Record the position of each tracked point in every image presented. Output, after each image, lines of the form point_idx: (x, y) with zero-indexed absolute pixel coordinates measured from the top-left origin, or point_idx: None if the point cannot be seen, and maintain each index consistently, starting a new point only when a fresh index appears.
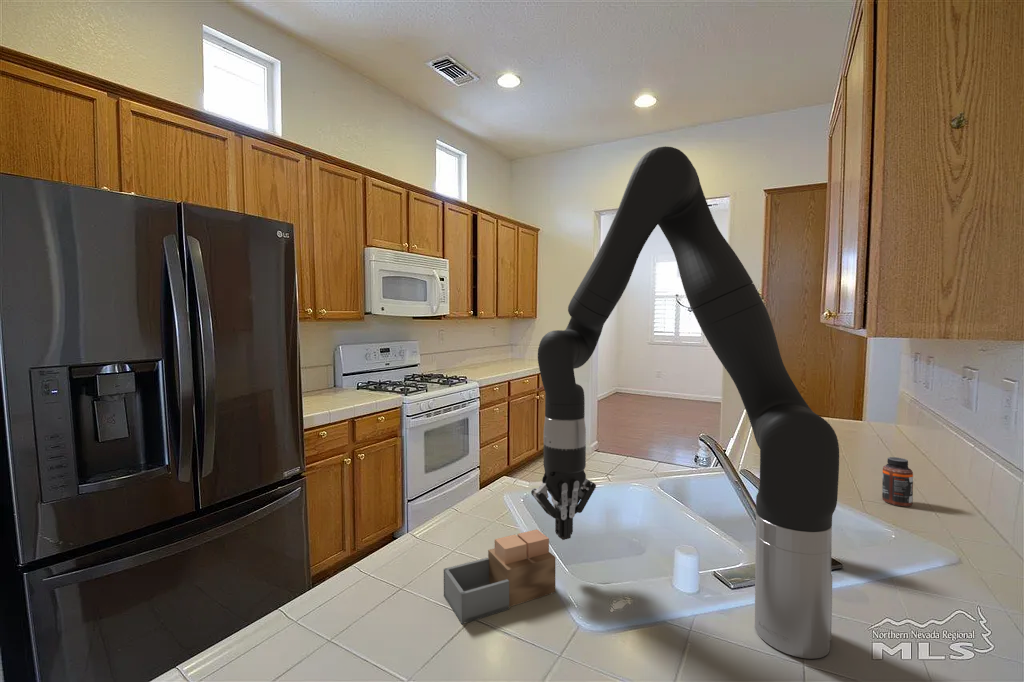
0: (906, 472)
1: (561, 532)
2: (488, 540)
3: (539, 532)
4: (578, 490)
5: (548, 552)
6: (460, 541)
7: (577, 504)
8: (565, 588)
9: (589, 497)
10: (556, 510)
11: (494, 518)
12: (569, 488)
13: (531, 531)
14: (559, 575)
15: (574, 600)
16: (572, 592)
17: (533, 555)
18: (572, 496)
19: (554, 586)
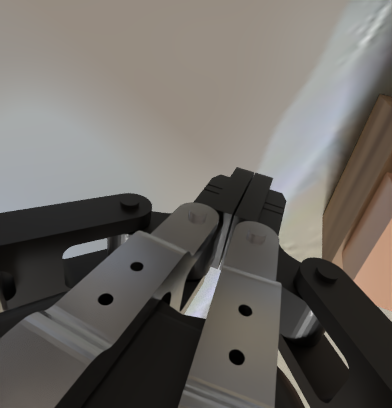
0: None
1: (273, 202)
2: (283, 361)
3: (369, 271)
4: (41, 305)
5: (389, 173)
6: None
7: (115, 241)
8: (332, 88)
9: (12, 213)
10: (287, 297)
11: None
12: (114, 391)
13: (387, 302)
14: (283, 151)
15: (378, 10)
16: (337, 54)
17: None
18: (145, 296)
19: (386, 98)
